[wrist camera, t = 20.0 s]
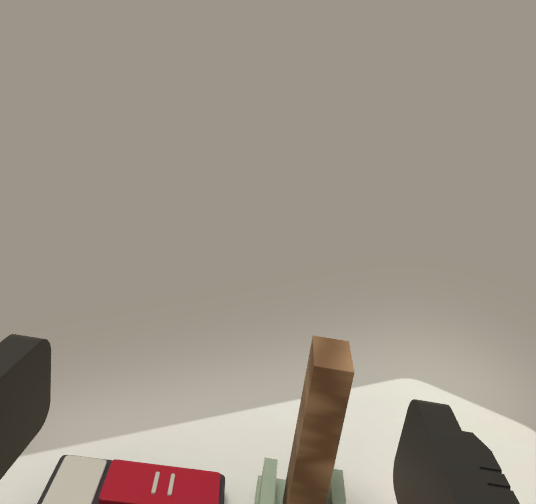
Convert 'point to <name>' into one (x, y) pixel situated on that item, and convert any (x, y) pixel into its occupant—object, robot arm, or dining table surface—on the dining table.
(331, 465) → the tall board
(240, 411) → the dining table surface
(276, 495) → the board holder
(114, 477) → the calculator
